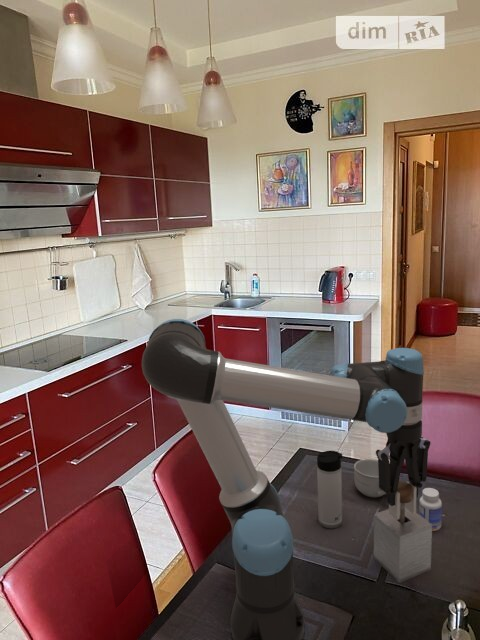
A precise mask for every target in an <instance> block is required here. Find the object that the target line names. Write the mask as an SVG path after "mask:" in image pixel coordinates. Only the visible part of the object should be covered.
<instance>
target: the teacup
mask: <svg viewBox="0 0 480 640" xmlns="http://www.w3.org/2000/svg"><path fill="white" fill-rule="evenodd" d="M353 469H354V472H353V476H354V477H353V480H354V485H355V487H356V489H357V490H358V491H359V492H360V493H362V495H364V496H366V497H369V498H380V497H382V496H384V495H387V493H385V492H384V491H383V490H381V489H380V488H379V471H378V459H373V458H366V459H365V458H364V459H359V460H357V461H355V463H354V465H353Z"/></svg>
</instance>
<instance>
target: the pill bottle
mask: <svg viewBox="0 0 480 640" xmlns="http://www.w3.org/2000/svg"><path fill="white" fill-rule="evenodd" d="M421 491H422V494H421V495H422V496H421V497H420V498H419V503H418V504H419V505H418V506H419V507H418V509H419V510H418V511H419V513H418V514H419V515H420V516H422V517H423V518H424V519H426V520H427V521H428V522H429V523H431V524H432V532H436V531H439V530H440V529H441V528H442V518H443V517H442V515H443V514H442V511H443V509H442V508H443V505H442V503H443V502H442V500H441V499H440V493H439V491H438V490H437V489H435V488H433V487H425V488H424V489H422V490H421Z"/></svg>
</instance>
